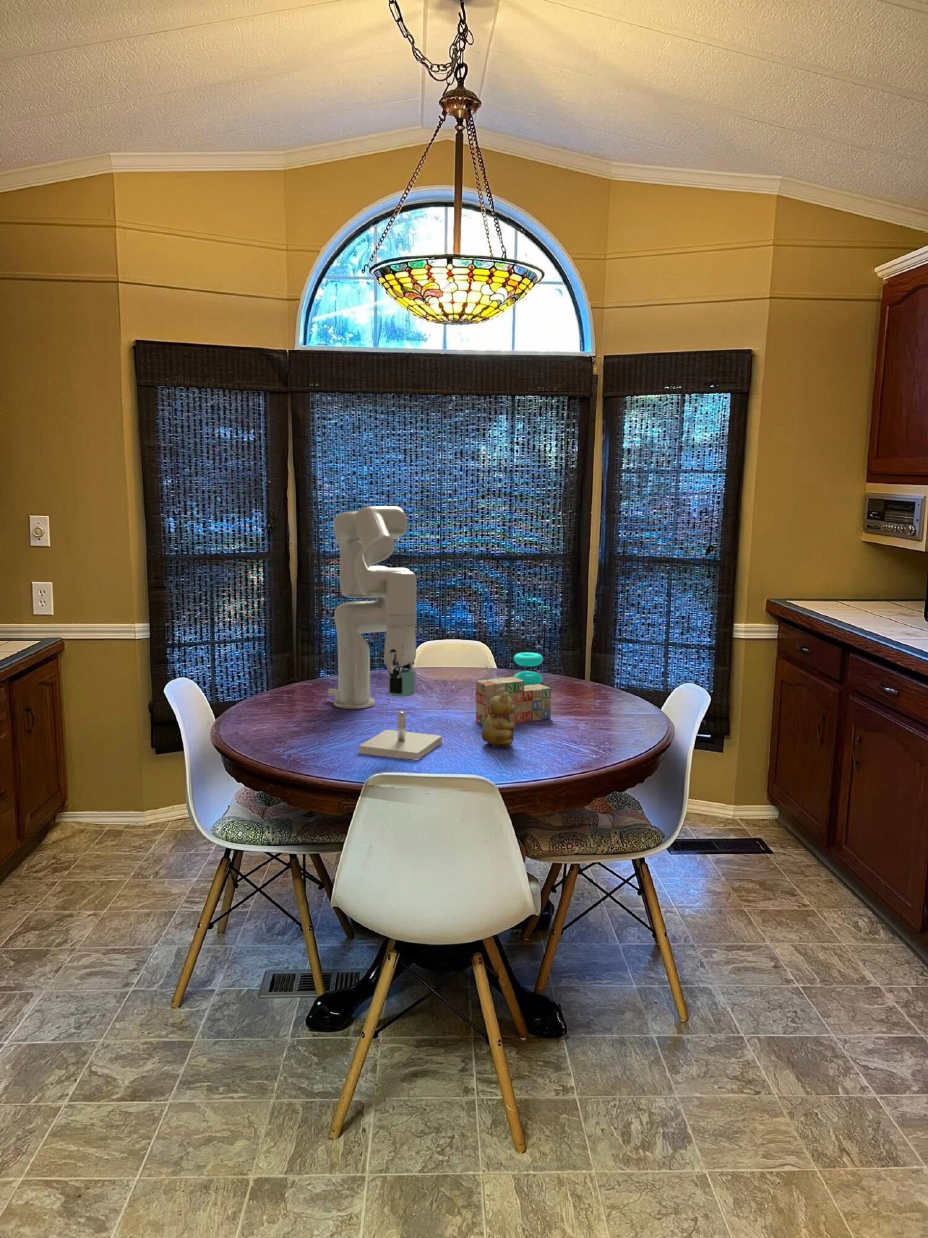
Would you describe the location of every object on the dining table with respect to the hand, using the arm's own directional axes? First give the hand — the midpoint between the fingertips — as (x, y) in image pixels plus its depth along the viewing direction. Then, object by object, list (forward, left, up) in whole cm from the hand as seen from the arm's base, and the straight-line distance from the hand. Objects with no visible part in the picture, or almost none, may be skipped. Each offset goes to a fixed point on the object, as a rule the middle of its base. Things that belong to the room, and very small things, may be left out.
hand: (401, 689), depth 228 cm
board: (0, 0, -15) cm, 15 cm away
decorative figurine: (+22, +12, -16) cm, 30 cm away
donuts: (+9, +85, -16) cm, 87 cm away
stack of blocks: (+18, +37, -16) cm, 44 cm away
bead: (0, 0, -1) cm, 1 cm away
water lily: (+7, +61, -16) cm, 63 cm away
